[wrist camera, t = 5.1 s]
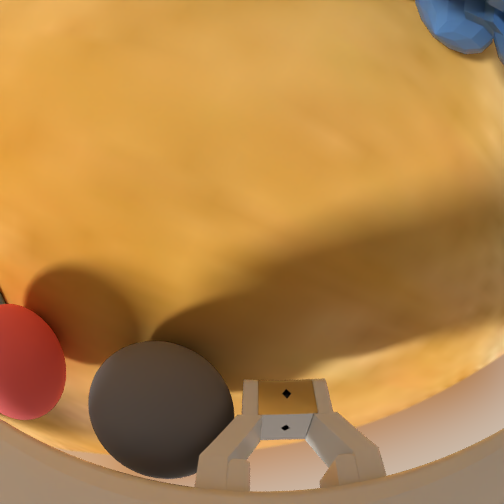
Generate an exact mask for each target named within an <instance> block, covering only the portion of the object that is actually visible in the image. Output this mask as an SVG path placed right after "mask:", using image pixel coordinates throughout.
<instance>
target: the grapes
mask: <svg viewBox="0 0 504 504" xmlns="http://www.w3.org/2000/svg"><path fill="white" fill-rule="evenodd" d="M415 4H416V6H417V9H418V12H419V14H420V17H421V20H422V21H423V23H424V24H425V26H426V27H427V29H428V30H429V31H430V33H431V34H432V36H433V37H434V38H435V39H437V40H438V41H440V42H441V43H442V44H444V45H445V46H446V47H448V48H449V49H452V50H455V51H458V52H461V53H463V54H474V53H482V52H483V51H484V50H485V49H486V48H487V47H488V46H489V45H490V44H491V43H492V41H493V39H494V42H495V46H496V50H497V54H498V57H499V59H500V61H501V62H502V64H503V65H504V0H415Z"/></svg>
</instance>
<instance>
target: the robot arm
mask: <svg viewBox="0 0 504 504" xmlns="http://www.w3.org/2000/svg"><path fill="white" fill-rule="evenodd" d="M278 439H305V440H306V441H307V443H308V444H309V445H310V446H311V447H312V449H313V450H314V451H315V452H316V453H317V455H318V456H319V457H320V458H321V459H322V460H323V462H324V463H325V464H326V465H327V466H328V467H329V469H328V470H327V472H326V473H325V474H324V476H323V477H322V479H321V480H320V488H317V489H307V490H296V491H271V492H252V491H250V463H249V462H248V461H247V459H248V457H249V456H250V454H251V453H252V452H253V450H254V449H255V448H256V446H257V445H258V443H259V442H260V440H278ZM0 504H504V429H502V430H500V431H498V432H497V433H495V434H493V435H491V436H489V437H487V438H485V439H483V440H482V441H479V442H478V443H475V444H473V445H471V446H469V447H467V448H465V449H462V450H460V451H458V452H456V453H453V454H451V455H448V456H446V457H444V458H441V459H439V460H436V461H434V462H430V463H427V464H425V465H422V466H419V467H416V468H413V469H409V470H406V471H403V472H400V473H396V474H392V475H388V476H386V473H385V469H384V465H383V462H382V458H381V455H380V451H379V447H377V446H376V445H375V444H374V443H373V442H371V441H370V440H369V439H368V438H367V437H365V436H364V435H363V434H362V433H361V432H360V431H358V430H357V429H356V428H355V427H354V426H353V425H351V424H350V423H349V422H348V421H347V420H346V419H345V418H343V417H342V416H341V415H340V414H339V413H338V412H333V409H332V404H331V400H330V396H329V391H328V387H327V383H326V380H325V379H302V380H248V379H244V382H243V399H242V415H237V416H236V417H235V418H234V419H233V420H232V422H231V423H230V424H229V425H228V426H227V427H226V428H225V429H224V430H223V431H222V432H221V433H220V434H219V435H218V437H217V438H216V439H215V440H214V441H213V442H212V443H211V444H210V445H209V446H208V447H207V448H206V449H205V450H204V451H203V452H202V453H201V454H200V455H199V461H198V467H197V474H196V481H195V487H188V486H182V485H176V484H170V483H164V482H159V481H155V480H150V479H145V478H141V477H137V476H133V475H129V474H126V473H122V472H119V471H115V470H112V469H108V468H105V467H102V466H99V465H96V464H94V463H91V462H88V461H85V460H82V459H80V458H77V457H75V456H72V455H70V454H67V453H65V452H62V451H60V450H58V449H56V448H54V447H51V446H49V445H47V444H45V443H43V442H41V441H39V440H37V439H35V438H33V437H31V436H29V435H27V434H25V433H23V432H22V431H20V430H18V429H16V428H15V427H13V426H11V425H10V424H8V423H6V422H5V421H3V420H0Z"/></svg>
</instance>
